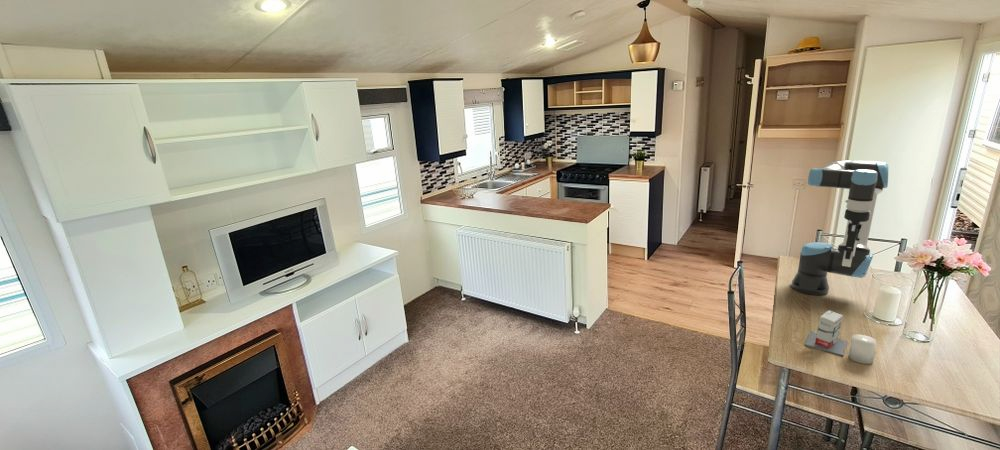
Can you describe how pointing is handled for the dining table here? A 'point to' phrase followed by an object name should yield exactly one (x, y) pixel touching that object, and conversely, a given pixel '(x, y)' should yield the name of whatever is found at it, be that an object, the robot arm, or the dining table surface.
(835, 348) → the slate tile
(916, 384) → the dining table surface
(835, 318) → the ink box
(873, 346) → the white rounded cylinder
